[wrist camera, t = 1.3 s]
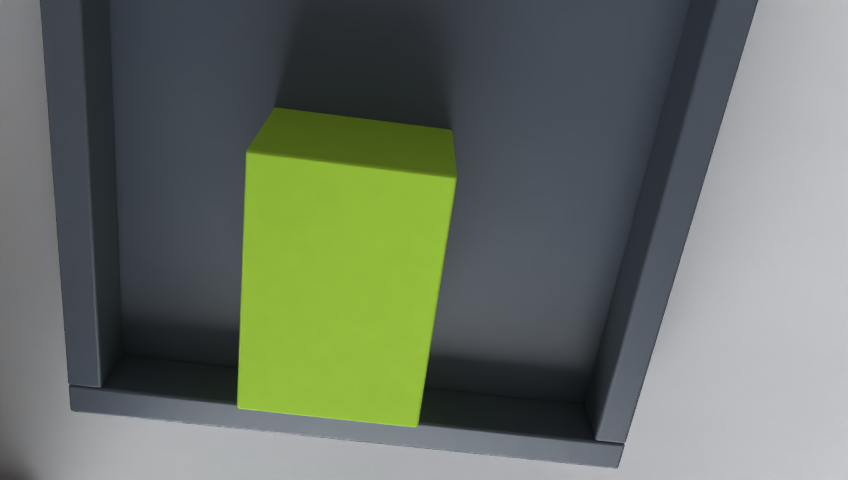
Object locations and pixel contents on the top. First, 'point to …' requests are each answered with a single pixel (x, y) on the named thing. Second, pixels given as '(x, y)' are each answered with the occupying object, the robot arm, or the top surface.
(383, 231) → the sponge
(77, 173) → the tray
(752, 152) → the top surface
